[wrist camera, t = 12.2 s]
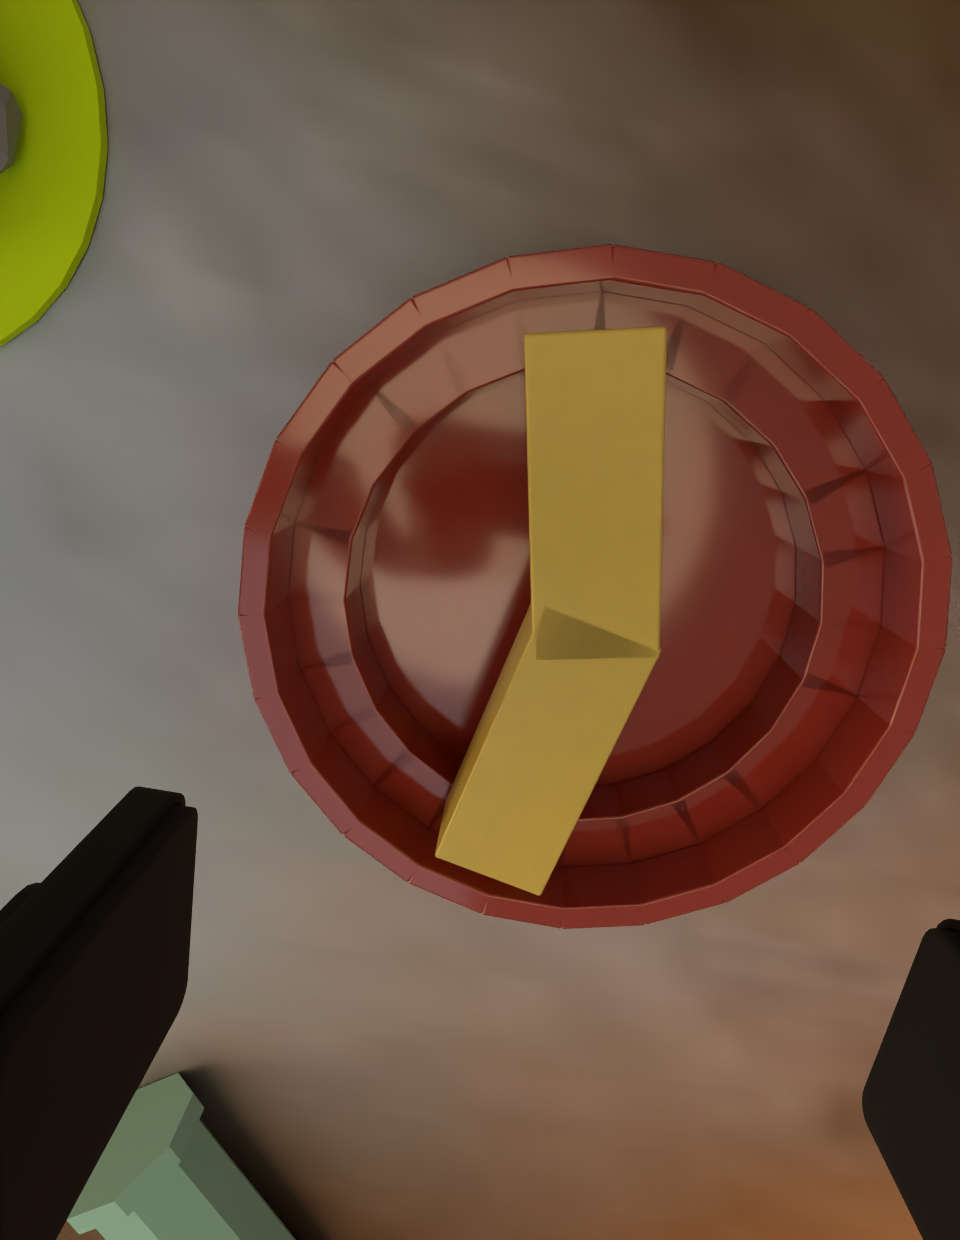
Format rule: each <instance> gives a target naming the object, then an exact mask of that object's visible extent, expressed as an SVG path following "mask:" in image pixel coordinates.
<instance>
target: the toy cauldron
mask: <svg viewBox="0 0 960 1240" xmlns="http://www.w3.org/2000/svg"><path fill="white" fill-rule="evenodd" d="M107 150H108V140H107V126H106V112H105V98H104V88H103V84H102V80H101V76H100V71H99V67H98V63H97V59H96V55H95V50H94V46H93V42H92V38H91V34H90V31H89V28H88V26H87V24H86V21H85V19H84V16H83V14H82V11H81V9H80V7H79V4H78V2H77V0H0V346H3V345H5V344H6V343H8V342H9V341H10V340H12V339H13V338H15V337H16V336H17V335H19V334H20V333H21V332H23V331H24V330H26V329H27V328H28V327H30V326H31V325H32V324H34V323H35V322H37V321H38V320H39V319H40V318H41V317H42V315H43V314H44V313H45V312H46V311H47V310H48V308H49V307H50V306H51V305H52V304H53V303H54V301H55V300H56V299H57V298H58V297H59V296H60V294H61V293H62V292H63V291H64V290H65V289H66V287H67V286H68V284H69V282H70V280H71V278H72V277H73V275H74V273H75V271H76V269H77V267H78V265H79V263H80V261H81V260H82V258H83V256H84V254H85V252H86V250H87V248H88V246H89V243H90V240H91V237H92V233H93V230H94V226H95V223H96V220H97V216H98V213H99V209H100V206H101V203H102V199H103V190H104V180H105V170H106V160H107Z"/></svg>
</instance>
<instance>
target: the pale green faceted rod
mask: <svg viewBox="0 0 960 1240" xmlns="http://www.w3.org/2000/svg"><path fill="white" fill-rule="evenodd" d="M203 1110H204V1107H203V1105H202V1104H201V1103H200V1101H199V1100H198V1098H197V1097H196V1096H195V1094H194V1093H193V1091H192V1090H191V1089H190V1087H189V1086H188V1085H187V1083H186V1082H185V1081H184V1080H183V1078H182V1077H181V1076H180V1075H179V1073H177V1074H174V1075H172V1076H169V1077H167V1078H164V1079H162V1080H159V1081H157V1082H154V1083H152V1084H149V1085H147V1086H144V1087H142V1088H139V1089H137V1090H136V1092H135V1094H134V1096H133V1098H132V1100H131V1101H130V1103H129V1105H128V1107H127V1109H126V1111H125V1113H124V1114H123V1116H122V1118H121V1120H120V1122H119V1124H118V1126H117V1127H116V1129H115V1131H114V1133H113V1135H112V1137H111V1138H110V1140H109V1142H108V1144H107V1146H106V1148H105V1150H104V1151H103V1153H102V1155H101V1157H100V1159H99V1161H98V1163H97V1164H96V1166H95V1168H94V1170H93V1172H92V1174H91V1176H90V1177H89V1179H88V1181H87V1183H86V1185H85V1187H84V1189H83V1190H82V1192H81V1194H80V1196H79V1198H78V1200H77V1202H76V1203H75V1205H74V1207H73V1209H72V1211H71V1213H70V1215H69V1216H68V1218H67V1221H68V1222H69V1223H70V1224H71V1226H72V1227H73V1228H74V1229H75V1230H76V1231H77V1232H78V1233H79V1234H82V1233H85V1232H87V1231H90V1230H93V1229H97V1230H98V1232H99V1233H100V1234H101V1235H102V1236H103V1237H104V1238H105V1239H106V1240H296V1239H295V1237H294V1236H293V1235H292V1234H291V1232H290V1231H289V1230H288V1229H287V1227H286V1226H285V1225H284V1224H283V1222H282V1221H281V1220H280V1219H279V1217H278V1216H277V1215H276V1214H275V1212H274V1211H273V1210H272V1209H271V1207H270V1206H269V1205H268V1204H267V1202H266V1201H265V1200H264V1199H263V1197H262V1196H261V1195H260V1194H259V1192H258V1191H257V1190H256V1189H255V1188H254V1186H253V1185H252V1184H251V1183H250V1181H249V1180H248V1179H247V1178H246V1176H245V1175H244V1174H243V1173H242V1171H241V1170H240V1169H239V1168H238V1166H237V1165H236V1164H235V1163H234V1161H233V1160H232V1159H231V1158H230V1156H229V1155H228V1154H227V1153H226V1151H225V1150H224V1149H223V1148H222V1146H221V1145H220V1144H219V1143H218V1141H217V1140H216V1139H215V1138H214V1136H213V1135H212V1134H211V1133H210V1131H209V1130H208V1129H207V1128H206V1126H205V1125H204V1124H203V1123H202V1121H201V1120H200V1117H201V1115H202V1112H203Z"/></svg>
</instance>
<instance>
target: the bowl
mask: <svg viewBox="0 0 960 1240" xmlns="http://www.w3.org/2000/svg"><path fill="white" fill-rule="evenodd" d="M659 326H663V327H666V329H667V350H666V394H665V438H664V482H663V526H662V570H661V614H660V648H661V653H660V656H659V658H658V659H657V661H656V663H655V665H654V667H653V669H652V671H651V673H650V675H649V677H648V679H647V681H646V683H645V685H644V687H643V689H642V691H641V693H640V695H639V697H638V699H637V701H636V703H635V705H634V707H633V709H632V711H631V713H630V715H629V718H628V720H627V722H626V724H625V726H624V728H623V730H622V732H621V734H620V736H619V738H618V740H617V742H616V744H615V746H614V748H613V750H612V752H611V754H610V756H609V758H608V760H607V762H606V764H605V766H604V768H603V770H602V772H601V774H600V776H599V778H598V780H597V782H596V784H595V786H594V788H593V790H592V792H591V794H590V796H589V799H588V801H587V803H586V805H585V807H584V809H583V811H582V813H581V815H580V817H579V819H578V821H577V823H576V825H575V827H574V829H573V831H572V833H571V835H570V837H569V839H568V841H567V843H566V845H565V847H564V849H563V851H562V853H561V855H560V857H559V859H558V861H557V863H556V865H555V867H554V869H553V871H552V873H551V875H550V877H549V880H548V882H547V884H546V886H545V888H544V890H543V892H542V894H541V895H540V896H539V895H536V894H533V893H531V892H528V891H525V890H523V889H520V888H517V887H515V886H512V885H509V884H507V883H504V882H501V881H499V880H496V879H493V878H491V877H488V876H485V875H483V874H480V873H477V872H475V871H472V870H469V869H467V868H464V867H461V866H459V865H456V864H453V863H451V862H448V861H445V860H443V859H440V858H437V857H436V856H435V852H436V847H437V842H438V837H439V832H440V826H441V821H442V816H443V811H444V806H445V801H446V799H447V797H448V794H449V792H450V790H451V787H452V785H453V783H454V780H455V778H456V776H457V773H458V771H459V769H460V766H461V764H462V762H463V759H464V757H465V755H466V752H467V750H468V748H469V745H470V743H471V741H472V738H473V736H474V734H475V732H476V729H477V727H478V725H479V722H480V720H481V718H482V715H483V713H484V711H485V708H486V706H487V704H488V701H489V699H490V697H491V694H492V692H493V690H494V687H495V685H496V683H497V680H498V678H499V676H500V673H501V671H502V669H503V666H504V664H505V662H506V659H507V657H508V655H509V652H510V650H511V648H512V645H513V643H514V641H515V638H516V636H517V634H518V632H519V629H520V627H521V625H522V622H523V620H524V618H525V615H526V613H527V611H528V608H529V606H530V604H531V580H530V542H529V504H528V466H527V428H526V390H525V352H524V337H525V335H526V334H528V333H543V332H562V331H582V330H601V329H620V328H640V327H659ZM333 361H334V362H331V363H330V364H329V365H328V367H327V368H326V370H325V371H324V372H323V374H322V375H321V377H320V378H319V379H318V381H317V382H316V384H315V385H314V386H313V388H312V389H311V391H310V392H309V393H308V395H307V396H306V398H305V399H304V400H303V402H302V403H301V405H300V406H299V407H298V409H297V410H296V412H295V413H294V414H293V416H292V417H291V419H290V420H289V422H288V423H287V424H286V426H285V427H284V429H283V430H282V431H281V433H280V434H279V436H278V437H277V440H276V441H275V442H274V445H273V448H272V451H271V454H270V456H269V459H268V462H267V465H266V467H265V470H264V473H263V476H262V479H261V481H260V484H259V487H258V490H257V492H256V495H255V498H254V501H253V504H252V506H251V509H250V512H249V515H248V517H247V520H246V523H245V529H244V540H243V553H242V567H241V580H240V593H239V607H238V614H239V615H238V619H239V624H240V630H241V635H242V640H243V645H244V650H245V655H246V661H247V666H248V671H249V676H250V681H251V686H252V691H253V697H254V698H255V702H256V704H257V706H258V708H259V710H260V712H261V714H262V716H263V718H264V720H265V722H266V724H267V727H268V729H269V731H270V733H271V735H272V737H273V739H274V741H275V743H276V745H277V747H278V749H279V751H280V753H281V755H282V758H283V760H284V762H285V764H286V766H287V768H288V770H289V772H291V774H292V776H293V777H294V778H295V779H296V780H297V782H298V783H299V784H300V785H301V786H302V788H303V789H304V790H305V791H306V792H307V794H308V795H309V796H310V797H311V798H312V799H313V801H314V802H315V803H316V804H317V805H318V807H319V808H320V809H321V810H322V811H323V813H324V814H325V815H326V816H327V817H328V818H329V820H330V821H331V822H332V823H333V824H334V826H335V827H336V828H337V829H338V830H339V832H340V833H341V834H344V836H345V837H346V838H347V839H349V840H350V841H351V842H353V843H354V844H356V845H357V846H358V847H360V848H361V849H362V850H364V851H365V852H366V853H368V854H369V855H371V856H372V857H373V858H375V859H376V860H377V861H379V862H380V863H382V864H383V865H384V866H386V867H387V868H388V869H390V870H391V871H392V872H394V873H395V874H397V875H398V876H399V877H401V878H402V879H403V880H405V881H407V882H408V881H409V883H410V884H412V885H414V886H417V887H419V888H422V889H424V890H426V891H429V892H431V893H433V894H436V895H438V896H440V897H443V898H445V899H448V900H450V901H452V902H455V903H457V904H459V905H462V906H464V907H466V908H469V909H471V910H474V911H476V912H478V913H482V912H483V914H484V915H489V916H494V917H500V918H506V919H511V920H517V921H523V922H528V923H534V924H539V925H545V926H551V927H556V928H563V929H570V928H592V927H614V926H636V925H644V923H645V924H649V923H653V922H656V921H660V920H664V919H667V918H671V917H675V916H678V915H682V914H686V913H689V912H693V911H697V910H701V909H704V908H708V907H712V906H715V905H719V904H723V903H724V902H728V901H730V900H732V899H734V898H736V897H738V896H740V895H741V894H743V893H745V892H747V891H749V890H751V889H753V888H755V887H756V886H758V885H760V884H762V883H764V882H766V881H768V880H770V879H771V878H773V877H775V876H777V875H779V874H781V873H783V872H785V871H786V870H788V869H790V868H792V867H794V866H796V865H798V864H799V862H802V861H803V860H804V859H806V858H807V857H808V856H809V855H810V854H811V853H812V852H813V851H815V850H816V849H817V848H818V847H819V846H820V845H821V844H823V843H824V842H825V841H826V840H827V839H828V838H829V837H830V836H832V835H833V834H834V833H835V832H836V831H837V830H838V829H840V828H841V827H842V826H843V825H844V824H845V823H846V822H847V821H849V820H850V819H851V818H852V817H853V816H854V815H855V814H857V813H858V812H859V811H860V810H861V809H862V808H863V807H864V805H866V804H867V802H868V801H869V799H870V798H871V797H872V795H873V794H874V792H875V791H876V789H877V788H878V786H879V785H880V784H881V782H882V781H883V779H884V778H885V776H886V775H887V773H888V772H889V770H890V769H891V768H892V766H893V765H894V763H895V762H896V760H897V759H898V757H899V756H900V755H901V753H902V752H903V750H904V749H905V747H906V746H907V744H908V743H909V742H910V740H911V739H912V737H913V736H914V732H916V729H917V727H918V724H919V721H920V718H921V715H922V713H923V710H924V707H925V704H926V702H927V699H928V696H929V693H930V691H931V688H932V685H933V682H934V679H935V677H936V674H937V671H938V668H939V666H940V663H941V660H942V657H943V654H944V652H945V647H946V637H947V624H948V610H949V596H950V583H951V569H952V557H951V554H952V553H951V549H950V544H949V540H948V535H947V530H946V526H945V521H944V517H943V512H942V507H941V503H940V498H939V494H938V489H937V484H936V480H935V475H934V471H933V466H932V465H931V460H930V459H929V457H928V455H927V453H926V451H925V450H924V448H923V446H922V444H921V443H920V441H919V439H918V437H917V435H916V434H915V432H914V430H913V428H912V427H911V425H910V423H909V421H908V419H907V418H906V416H905V414H904V412H903V410H902V409H901V407H900V405H899V403H898V402H897V400H896V398H895V396H894V394H893V393H892V391H891V389H890V387H889V386H888V384H887V382H886V380H885V379H883V376H882V375H881V374H880V373H879V372H878V371H877V370H876V369H875V368H874V367H873V366H872V365H870V364H869V363H868V362H867V361H866V360H865V359H864V358H863V357H862V356H861V355H860V354H859V353H858V352H857V351H856V350H855V349H854V348H853V347H851V346H850V345H849V344H848V343H847V342H846V341H845V340H844V339H843V338H842V337H841V336H840V335H839V334H838V333H837V332H836V331H835V330H834V329H832V328H831V327H830V326H829V325H828V324H827V323H826V322H825V321H824V320H823V319H822V318H821V317H820V316H819V315H818V314H817V313H816V312H815V311H814V310H812V309H809V307H807V306H805V305H803V304H801V303H799V302H797V301H795V300H793V299H791V298H789V297H787V296H785V295H783V294H781V293H779V292H777V291H775V290H773V289H771V288H769V287H767V286H765V285H763V284H761V283H759V282H757V281H755V280H753V279H751V278H749V277H747V276H745V275H743V274H741V273H739V272H737V271H735V270H733V269H731V268H729V267H727V266H725V265H723V264H721V263H717V264H716V263H715V262H713V261H708V260H703V259H697V258H691V257H685V256H679V255H673V254H667V253H661V252H655V251H649V250H644V249H638V248H632V247H626V246H620V245H614V246H612V245H611V244H609V245H600V246H592V247H583V248H575V249H566V250H558V251H549V252H541V253H533V254H524V255H516V256H509V257H508V258H503V259H500V260H498V261H496V262H493V263H491V264H489V265H486V266H484V267H481V268H479V269H477V270H474V271H472V272H470V273H467V274H465V275H462V276H460V277H458V278H455V279H453V280H450V281H448V282H446V283H443V284H441V285H439V286H436V287H434V288H431V289H429V290H427V291H424V292H422V293H420V294H417V295H415V296H413V297H412V299H411V298H410V299H408V300H407V301H406V302H404V303H403V304H402V305H401V306H399V307H398V308H397V309H396V310H394V311H393V312H392V313H391V314H389V315H388V316H387V317H386V318H384V319H383V320H382V321H381V322H379V323H378V324H377V325H376V326H374V327H373V328H372V329H371V330H369V331H368V332H367V333H366V334H364V335H363V336H362V337H361V338H359V339H358V340H357V341H356V342H354V343H353V344H352V345H351V346H349V347H348V348H347V349H346V350H344V351H343V352H342V353H341V354H339V355H338V356H337V357H336V358H334V360H333Z"/></svg>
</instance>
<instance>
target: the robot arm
mask: <svg viewBox="0 0 960 1240" xmlns="http://www.w3.org/2000/svg"><path fill="white" fill-rule="evenodd" d="M197 823H198V813H197V810H196V808H194V807H188V806H185V798H184V796H183V795H182V794H181V793H176V792H169V791H163V790H157V789H151V788H145V787H135V788H133V789H132V790H131V791H129V792H128V794H127V795H126V796H125V797H124V798H123V799H122V800H121V801H120V802H119V803H118V804H117V805H116V806H115V807H114V808H113V809H112V810H111V811H110V812H109V813H108V814H107V815H106V816H105V817H104V818H103V819H102V820H101V821H100V822H99V824H98V825H97V826H96V827H95V828H94V829H93V830H92V831H91V832H90V833H89V834H88V835H87V836H86V837H85V838H84V839H83V840H82V841H81V842H80V843H79V844H78V845H77V846H76V847H75V848H74V849H73V850H72V851H71V852H70V854H69V855H68V856H67V857H66V858H65V859H64V860H63V861H62V862H61V863H60V864H59V865H58V866H57V867H56V868H55V869H54V870H53V871H52V872H51V873H50V874H49V875H48V876H47V877H46V878H45V879H44V880H43V881H42V882H41V883H34V884H31V885H27V886H26V887H25V888H24V889H22V890H21V891H20V892H19V893H17V894H16V895H15V896H14V897H13V898H12V899H11V900H10V901H9V902H8V903H7V904H6V905H5V906H4V907H3V908H2V909H1V910H0V1240H56V1239H57V1237H58V1235H59V1233H60V1231H61V1229H62V1227H63V1226H64V1224H65V1222H66V1220H67V1218H68V1216H69V1215H70V1213H71V1211H72V1209H73V1207H74V1205H75V1203H76V1202H77V1200H78V1198H79V1196H80V1194H81V1192H82V1190H83V1189H84V1187H85V1185H86V1183H87V1181H88V1179H89V1177H90V1176H91V1174H92V1172H93V1170H94V1168H95V1166H96V1164H97V1163H98V1161H99V1159H100V1157H101V1155H102V1153H103V1151H104V1150H105V1148H106V1146H107V1144H108V1142H109V1140H110V1138H111V1137H112V1135H113V1133H114V1131H115V1129H116V1127H117V1126H118V1124H119V1122H120V1120H121V1118H122V1116H123V1114H124V1113H125V1111H126V1109H127V1107H128V1105H129V1103H130V1101H131V1100H132V1098H133V1096H134V1094H135V1092H136V1090H137V1088H138V1087H139V1085H140V1083H141V1081H142V1079H143V1077H144V1075H145V1074H146V1072H147V1070H148V1068H149V1066H150V1064H151V1062H152V1061H153V1059H154V1057H155V1055H156V1053H157V1051H158V1049H159V1048H160V1046H161V1044H162V1042H163V1040H164V1038H165V1036H166V1035H167V1033H168V1031H169V1029H170V1027H171V1025H172V1024H173V1022H174V1020H175V1018H176V1016H177V1014H178V1012H179V1010H180V1007H181V1005H182V1002H183V999H184V995H185V992H186V987H187V980H188V966H189V950H190V934H191V918H192V902H193V886H194V870H195V854H196V839H197ZM862 1106H863V1113H864V1117H865V1121H866V1123H867V1126H868V1128H869V1130H870V1132H871V1134H872V1136H873V1138H874V1140H875V1142H876V1144H877V1146H878V1148H879V1150H880V1152H881V1154H882V1156H883V1158H884V1160H885V1162H886V1165H887V1167H888V1169H889V1171H890V1173H891V1175H892V1177H893V1179H894V1181H895V1183H896V1185H897V1187H898V1189H899V1191H900V1193H901V1195H902V1197H903V1199H904V1201H905V1203H906V1205H907V1207H908V1209H909V1211H910V1213H911V1215H912V1217H913V1219H914V1222H915V1224H916V1226H917V1228H918V1230H919V1232H920V1234H921V1236H922V1238H923V1240H960V920H955V919H947V920H943V921H942V922H941V923H940V924H938V926H937V928H933V929H929V930H928V931H927V932H926V933H925V935H924V937H923V938H922V941H921V944H920V946H919V949H918V951H917V954H916V956H915V959H914V962H913V964H912V967H911V969H910V972H909V974H908V977H907V979H906V982H905V985H904V987H903V990H902V992H901V995H900V997H899V1000H898V1003H897V1005H896V1008H895V1010H894V1013H893V1015H892V1018H891V1020H890V1023H889V1026H888V1028H887V1031H886V1033H885V1036H884V1038H883V1041H882V1044H881V1046H880V1049H879V1051H878V1054H877V1056H876V1059H875V1061H874V1064H873V1067H872V1069H871V1072H870V1074H869V1077H868V1079H867V1082H866V1085H865V1087H864V1091H863V1097H862Z"/></svg>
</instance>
